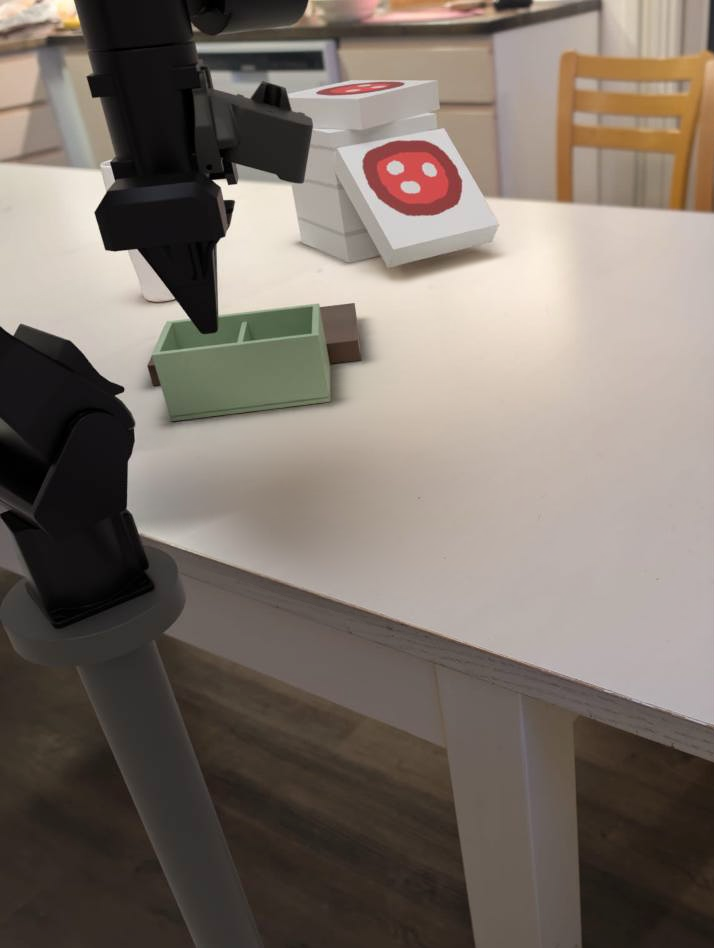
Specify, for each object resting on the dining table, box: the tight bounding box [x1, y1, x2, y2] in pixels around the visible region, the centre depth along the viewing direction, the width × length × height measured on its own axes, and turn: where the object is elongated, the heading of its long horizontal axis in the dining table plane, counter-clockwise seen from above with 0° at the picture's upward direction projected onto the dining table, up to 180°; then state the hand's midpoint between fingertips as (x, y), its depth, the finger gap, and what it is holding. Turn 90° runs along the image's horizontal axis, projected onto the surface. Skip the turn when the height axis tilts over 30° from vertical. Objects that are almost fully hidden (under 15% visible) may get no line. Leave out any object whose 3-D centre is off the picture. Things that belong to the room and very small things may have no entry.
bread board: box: [146, 302, 362, 386], centre depth 94 cm, size 12×20×2 cm, turn 98°
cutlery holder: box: [151, 303, 331, 422], centre depth 84 cm, size 9×14×6 cm, turn 98°
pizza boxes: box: [287, 79, 500, 269], centre depth 119 cm, size 19×30×18 cm, turn 33°
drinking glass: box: [99, 159, 176, 303], centre depth 109 cm, size 7×7×15 cm
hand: (210, 332), depth 60 cm, fingers closed
